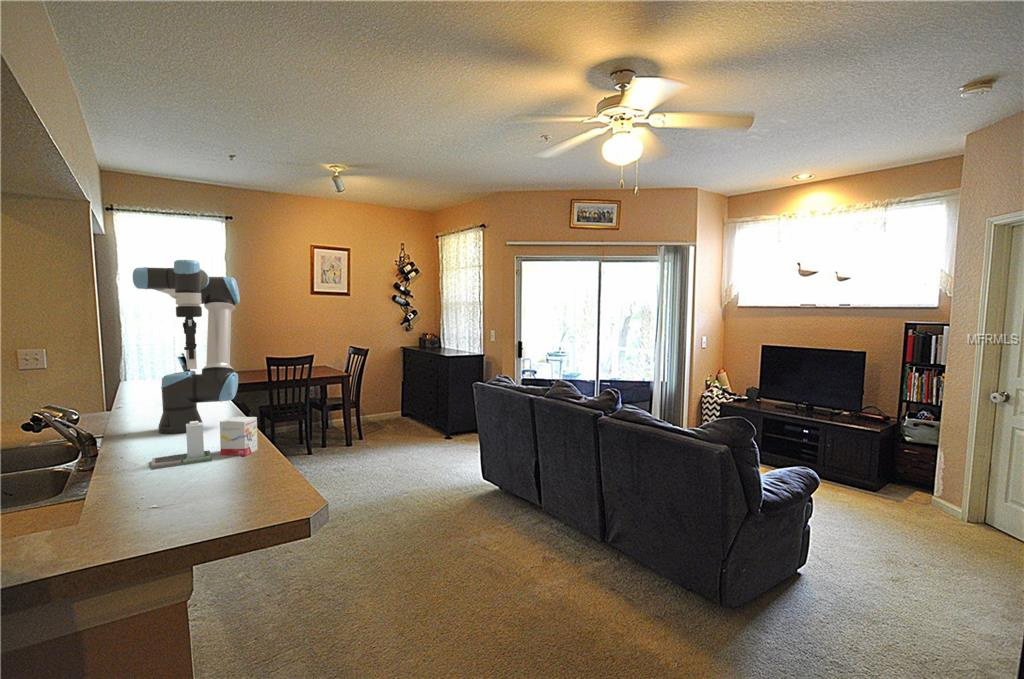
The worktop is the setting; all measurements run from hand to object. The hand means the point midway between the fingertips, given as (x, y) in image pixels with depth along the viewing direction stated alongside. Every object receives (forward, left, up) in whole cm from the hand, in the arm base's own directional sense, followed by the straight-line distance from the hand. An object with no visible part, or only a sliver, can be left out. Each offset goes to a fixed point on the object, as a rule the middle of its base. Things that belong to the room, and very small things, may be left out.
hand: (191, 367), depth 177 cm
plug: (+15, 0, -28) cm, 32 cm away
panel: (+15, -4, -29) cm, 33 cm away
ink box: (+14, +12, -29) cm, 35 cm away
